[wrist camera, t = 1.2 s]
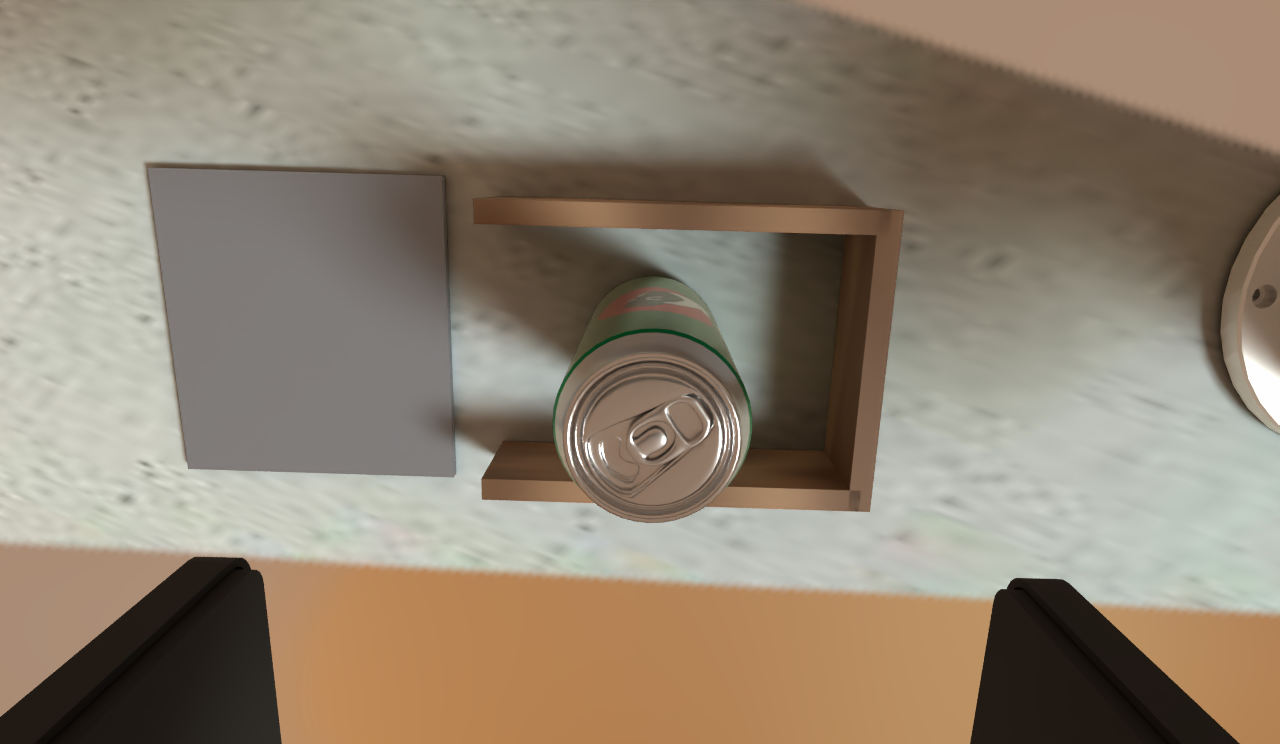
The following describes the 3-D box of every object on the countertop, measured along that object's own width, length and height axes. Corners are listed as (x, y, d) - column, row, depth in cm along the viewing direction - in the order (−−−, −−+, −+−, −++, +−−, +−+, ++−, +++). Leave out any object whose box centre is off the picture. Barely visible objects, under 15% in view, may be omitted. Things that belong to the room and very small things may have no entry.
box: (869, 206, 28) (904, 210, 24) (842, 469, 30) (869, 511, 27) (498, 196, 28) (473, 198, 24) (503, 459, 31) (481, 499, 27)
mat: (445, 175, 28) (441, 175, 27) (456, 473, 31) (453, 477, 30) (154, 167, 28) (147, 167, 27) (193, 465, 31) (188, 468, 30)
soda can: (563, 320, 29) (504, 412, 17) (670, 248, 28) (683, 295, 17) (634, 422, 30) (623, 573, 18) (740, 355, 29) (798, 469, 18)
